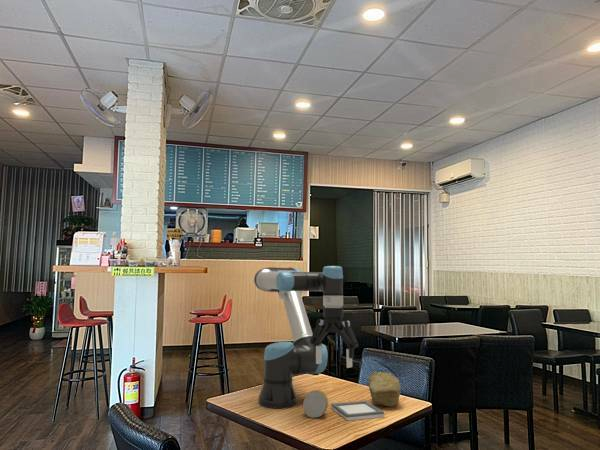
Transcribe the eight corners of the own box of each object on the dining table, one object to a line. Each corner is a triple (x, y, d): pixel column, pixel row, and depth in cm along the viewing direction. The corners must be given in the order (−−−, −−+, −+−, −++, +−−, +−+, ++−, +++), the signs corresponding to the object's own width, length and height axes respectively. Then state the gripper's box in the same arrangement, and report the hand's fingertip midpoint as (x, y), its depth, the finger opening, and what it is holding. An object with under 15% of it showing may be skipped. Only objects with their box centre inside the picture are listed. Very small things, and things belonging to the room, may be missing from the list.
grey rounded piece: (297, 399, 160) (305, 382, 169) (302, 422, 163) (310, 404, 172) (322, 400, 157) (329, 382, 165) (327, 424, 159) (334, 405, 168)
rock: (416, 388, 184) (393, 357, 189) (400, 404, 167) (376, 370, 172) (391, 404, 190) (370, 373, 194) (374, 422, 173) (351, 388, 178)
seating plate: (331, 408, 173) (331, 403, 173) (365, 405, 178) (365, 400, 178) (347, 420, 159) (347, 415, 159) (384, 417, 163) (384, 412, 164)
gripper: (301, 306, 172) (301, 363, 169) (356, 308, 157) (357, 370, 153) (312, 306, 178) (312, 360, 175) (367, 307, 162) (368, 367, 159)
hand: (333, 365), depth 164 cm, fingers open, 13 cm apart
